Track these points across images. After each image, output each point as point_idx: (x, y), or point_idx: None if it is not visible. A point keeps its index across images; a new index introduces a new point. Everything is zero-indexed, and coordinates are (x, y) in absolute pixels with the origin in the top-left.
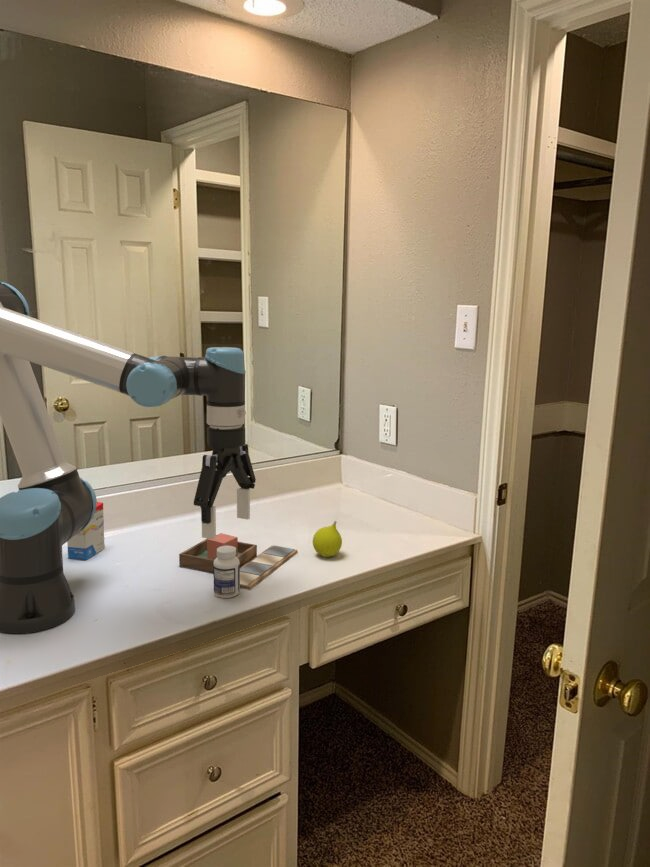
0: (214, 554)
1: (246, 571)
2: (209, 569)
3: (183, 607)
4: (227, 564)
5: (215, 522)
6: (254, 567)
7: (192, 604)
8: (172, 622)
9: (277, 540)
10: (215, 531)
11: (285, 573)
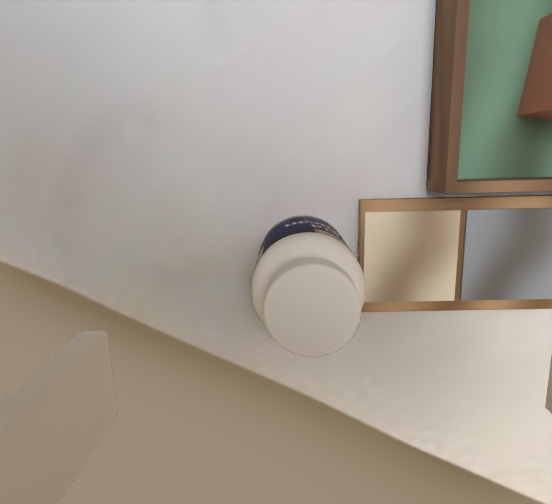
0: (548, 55)
1: (471, 241)
2: (435, 100)
3: (147, 192)
4: (265, 324)
5: (59, 496)
6: (518, 247)
7: (179, 205)
8: (51, 223)
9: None
10: (92, 444)
11: (528, 348)
